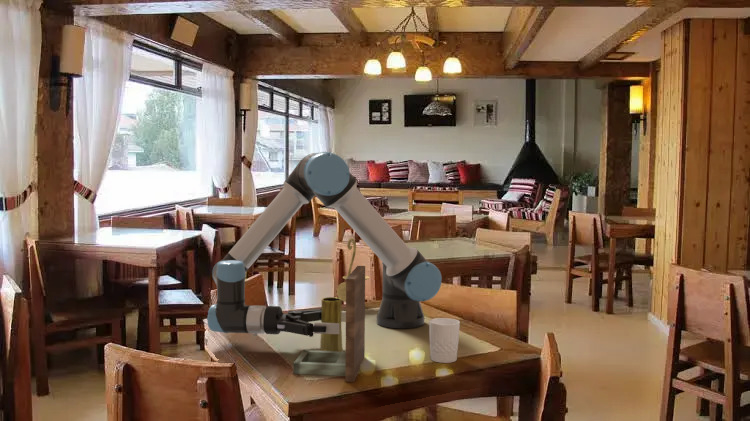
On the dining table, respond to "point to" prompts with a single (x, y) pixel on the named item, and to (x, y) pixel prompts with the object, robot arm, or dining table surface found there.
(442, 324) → the white cup
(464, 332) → the dining table surface
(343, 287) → the wall sconce
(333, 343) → the vase
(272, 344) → the dining table surface
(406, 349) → the dining table surface
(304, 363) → the board
